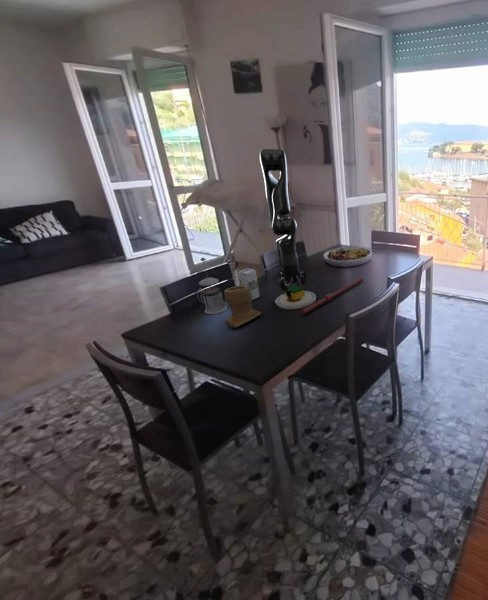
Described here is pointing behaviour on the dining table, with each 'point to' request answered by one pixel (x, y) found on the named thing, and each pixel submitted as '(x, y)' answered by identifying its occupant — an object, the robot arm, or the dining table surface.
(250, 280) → the white canister
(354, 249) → the bowl
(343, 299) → the dining table surface
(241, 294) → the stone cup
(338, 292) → the rolling pin
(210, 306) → the french press
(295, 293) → the sponge
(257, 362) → the dining table surface
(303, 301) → the plate
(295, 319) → the dining table surface
